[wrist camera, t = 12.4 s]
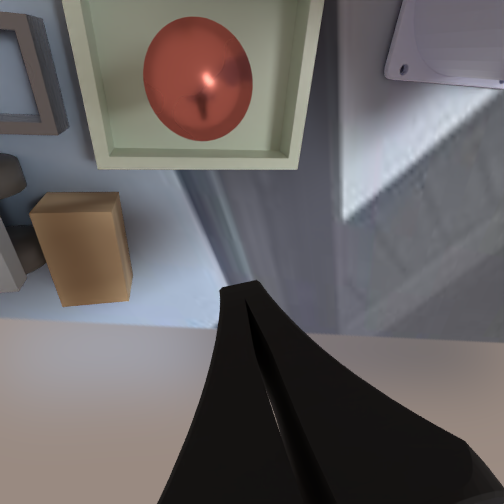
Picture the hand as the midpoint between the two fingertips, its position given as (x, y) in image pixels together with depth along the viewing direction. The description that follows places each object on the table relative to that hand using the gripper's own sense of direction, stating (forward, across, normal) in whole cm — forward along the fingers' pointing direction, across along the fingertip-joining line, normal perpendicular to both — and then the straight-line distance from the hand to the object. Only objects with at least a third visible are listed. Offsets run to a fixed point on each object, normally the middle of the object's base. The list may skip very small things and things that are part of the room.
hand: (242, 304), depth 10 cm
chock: (+10, +7, +1) cm, 12 cm away
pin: (+9, 0, -7) cm, 11 cm away
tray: (+10, 0, -6) cm, 12 cm away
